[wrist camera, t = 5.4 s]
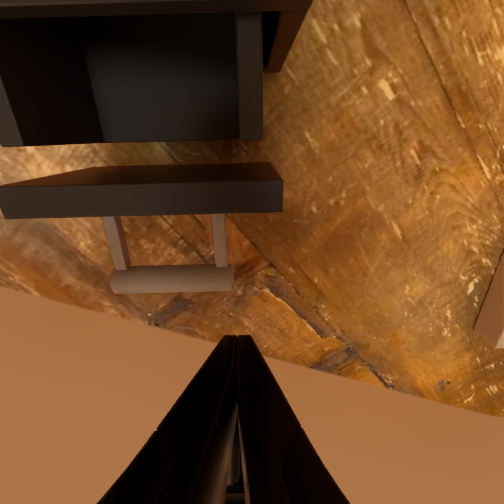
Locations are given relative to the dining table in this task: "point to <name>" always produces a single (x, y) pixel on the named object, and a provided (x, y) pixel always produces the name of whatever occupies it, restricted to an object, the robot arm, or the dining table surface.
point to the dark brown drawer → (138, 125)
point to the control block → (493, 310)
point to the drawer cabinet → (145, 3)
